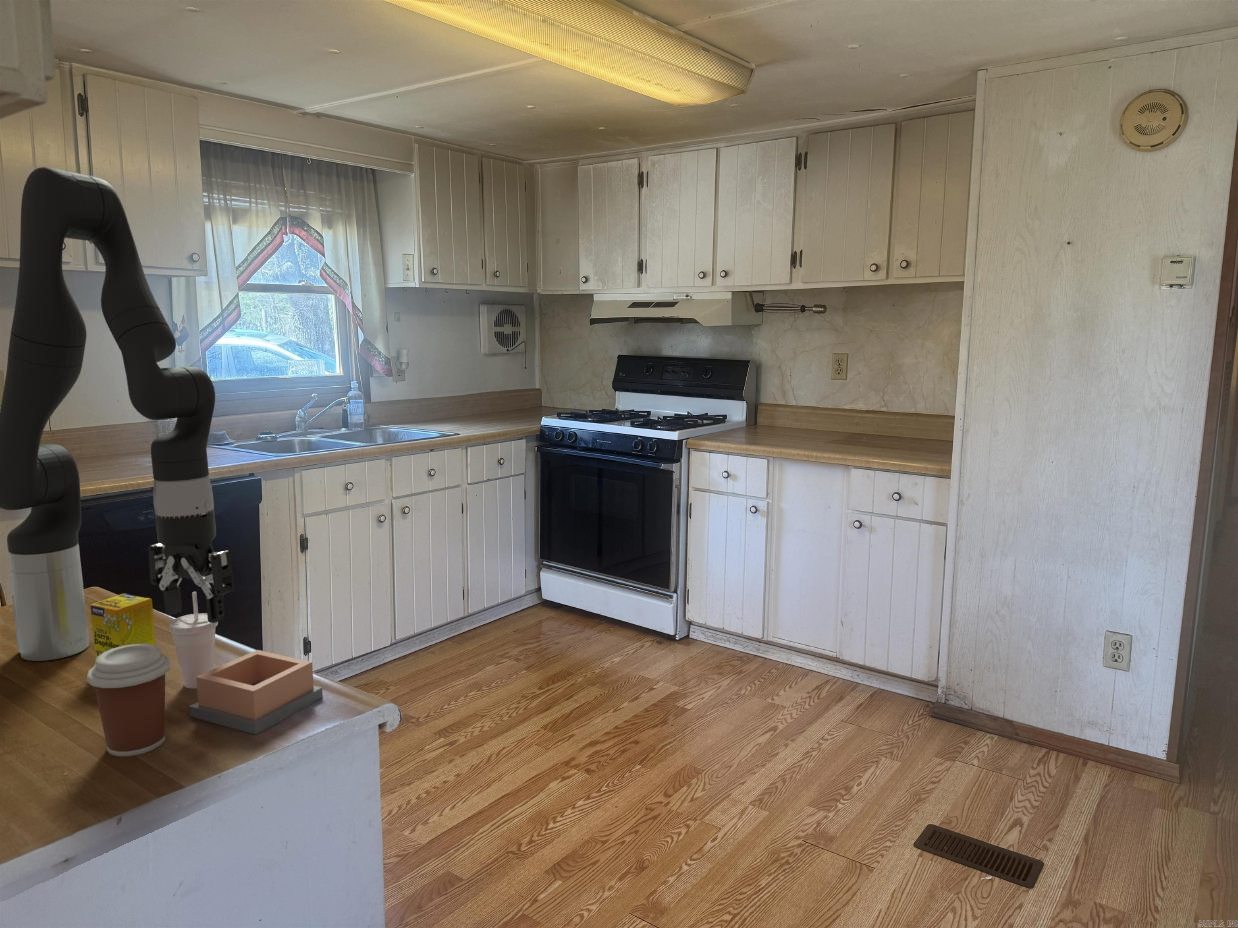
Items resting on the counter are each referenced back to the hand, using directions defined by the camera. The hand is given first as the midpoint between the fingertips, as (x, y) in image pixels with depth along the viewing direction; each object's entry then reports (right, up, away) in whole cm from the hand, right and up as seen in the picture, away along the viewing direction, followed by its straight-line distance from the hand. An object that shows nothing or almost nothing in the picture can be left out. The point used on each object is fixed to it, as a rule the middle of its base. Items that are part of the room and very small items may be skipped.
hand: (195, 617), depth 124 cm
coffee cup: (+1, -13, -16) cm, 21 cm away
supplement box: (-14, -9, +6) cm, 18 cm away
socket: (+12, -11, -6) cm, 17 cm away
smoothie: (0, -10, +2) cm, 10 cm away
